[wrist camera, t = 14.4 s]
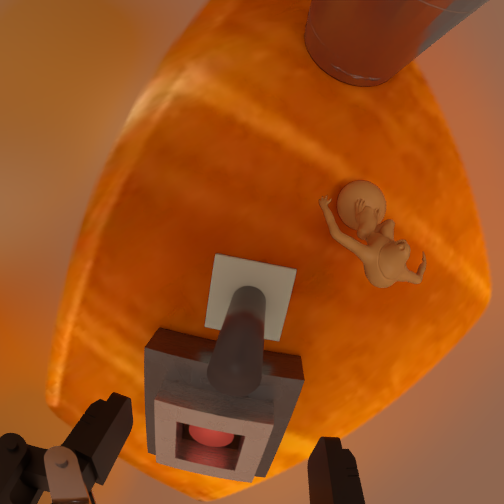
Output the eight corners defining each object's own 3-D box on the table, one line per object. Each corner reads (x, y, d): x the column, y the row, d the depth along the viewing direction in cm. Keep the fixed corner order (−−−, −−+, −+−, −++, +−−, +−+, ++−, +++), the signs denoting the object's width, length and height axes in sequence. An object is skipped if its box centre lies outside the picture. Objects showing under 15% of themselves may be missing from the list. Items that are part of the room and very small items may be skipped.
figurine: (402, 206, 24) (487, 225, 12) (372, 266, 25) (438, 323, 13) (322, 160, 23) (368, 137, 12) (290, 224, 25) (309, 258, 13)
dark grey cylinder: (234, 282, 26) (210, 348, 15) (269, 289, 25) (267, 359, 15) (229, 313, 26) (204, 390, 15) (262, 320, 26) (255, 400, 15)
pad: (216, 253, 25) (215, 254, 25) (296, 268, 25) (296, 270, 25) (205, 324, 27) (204, 326, 27) (278, 339, 27) (279, 341, 27)
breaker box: (159, 327, 27) (131, 365, 21) (300, 356, 27) (307, 402, 20) (157, 431, 31) (140, 470, 24) (266, 454, 31) (264, 496, 24)
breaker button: (199, 386, 28) (190, 414, 24) (241, 394, 28) (237, 423, 24) (196, 413, 29) (187, 441, 25) (234, 421, 29) (230, 450, 25)
